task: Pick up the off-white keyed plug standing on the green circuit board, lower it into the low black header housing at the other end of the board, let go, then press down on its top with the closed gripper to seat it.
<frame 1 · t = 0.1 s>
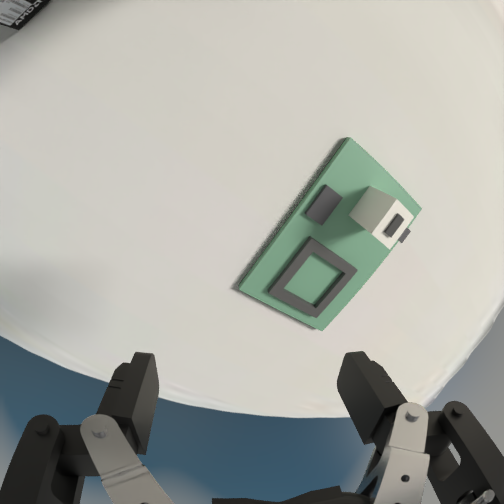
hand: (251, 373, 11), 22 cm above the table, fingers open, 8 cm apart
board: (335, 244, 34), on the table
plug: (368, 208, 31), point 1 cm above the table, touching board
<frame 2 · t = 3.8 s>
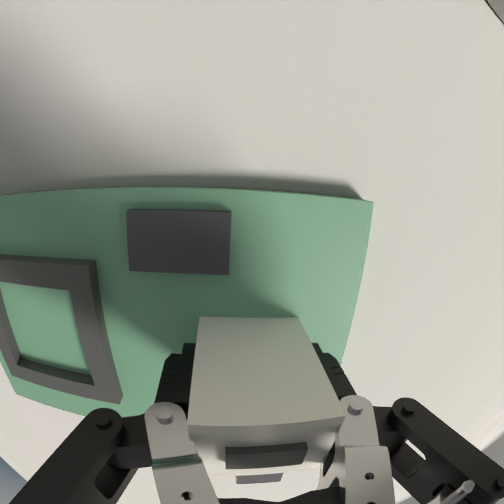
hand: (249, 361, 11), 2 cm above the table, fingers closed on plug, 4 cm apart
board: (128, 329, 13), on the table
plug: (248, 346, 13), point 1 cm above the table, touching board, gripper
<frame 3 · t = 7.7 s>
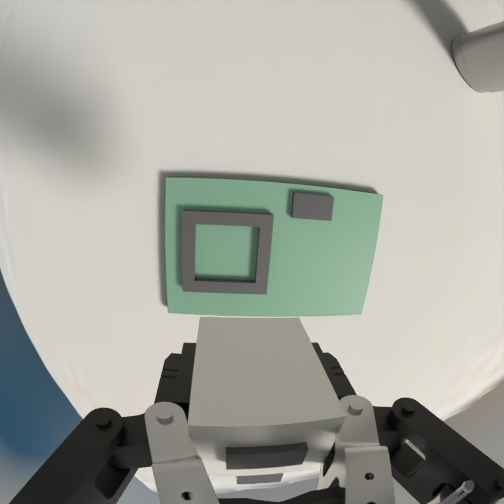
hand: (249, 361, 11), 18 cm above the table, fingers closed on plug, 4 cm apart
board: (275, 251, 29), on the table
plug: (248, 347, 13), point 16 cm above the table, touching gripper
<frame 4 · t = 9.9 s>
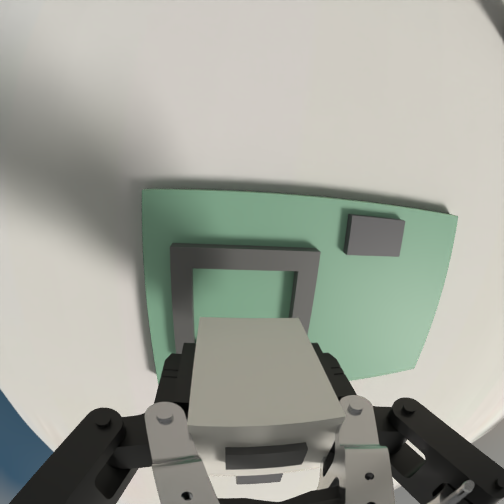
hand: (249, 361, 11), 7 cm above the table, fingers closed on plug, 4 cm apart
board: (315, 301, 19), on the table
plug: (248, 347, 13), point 6 cm above the table, touching gripper
when the fingers open (3 cm above the table, at t = 11.7 s): plug stays where it is, resting on board.
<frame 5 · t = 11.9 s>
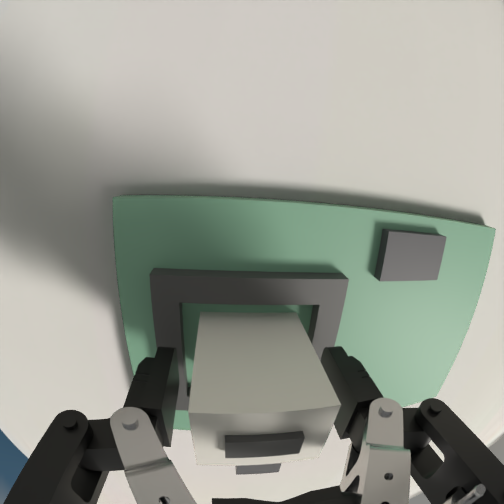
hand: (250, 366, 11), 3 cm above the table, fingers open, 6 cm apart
board: (335, 333, 15), on the table
plug: (247, 341, 13), point 1 cm above the table, touching board
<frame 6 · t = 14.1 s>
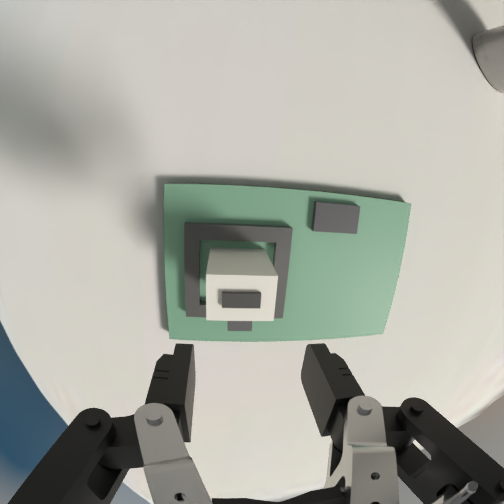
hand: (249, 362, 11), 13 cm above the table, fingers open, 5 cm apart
board: (292, 268, 25), on the table
plug: (236, 267, 23), point 1 cm above the table, touching board
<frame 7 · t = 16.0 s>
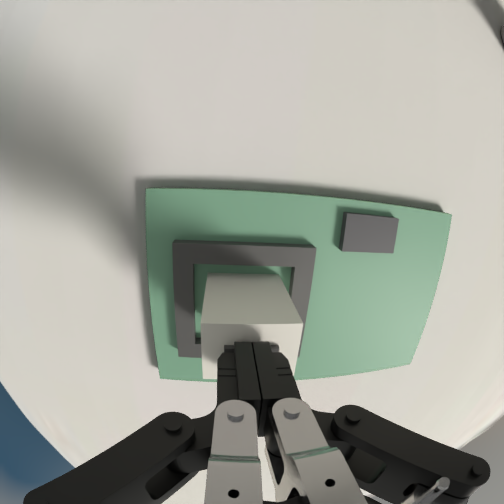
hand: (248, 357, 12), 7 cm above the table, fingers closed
board: (311, 296, 19), on the table
plug: (242, 297, 18), point 1 cm above the table, touching board, gripper
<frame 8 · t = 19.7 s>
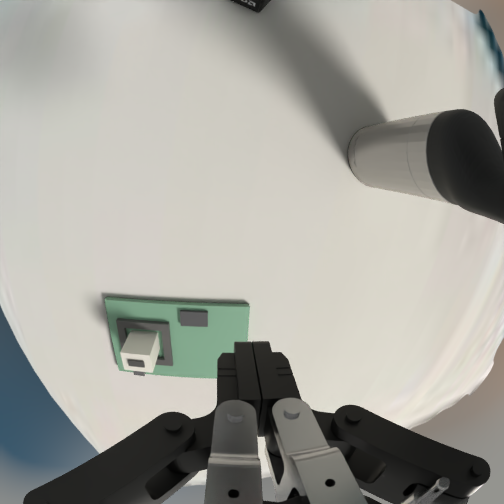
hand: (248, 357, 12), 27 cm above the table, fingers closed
board: (177, 340, 42), on the table
plug: (145, 339, 40), point 1 cm above the table, touching board
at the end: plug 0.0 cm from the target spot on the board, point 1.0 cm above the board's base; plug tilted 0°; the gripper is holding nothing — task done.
